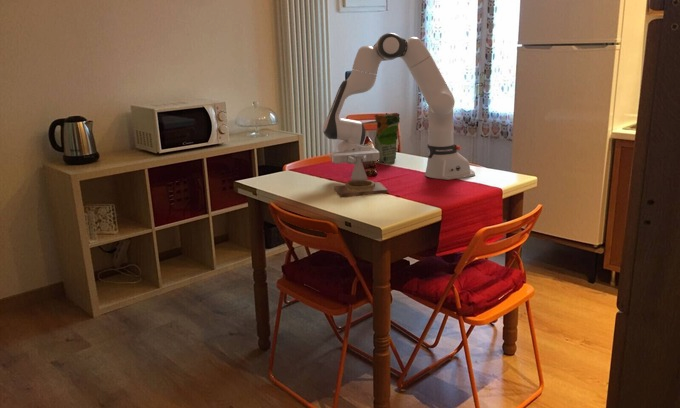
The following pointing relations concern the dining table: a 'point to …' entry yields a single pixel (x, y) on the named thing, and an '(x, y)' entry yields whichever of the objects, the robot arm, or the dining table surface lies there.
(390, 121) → the pouch
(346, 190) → the collar holder
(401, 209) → the dining table surface
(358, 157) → the flask
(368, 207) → the dining table surface
